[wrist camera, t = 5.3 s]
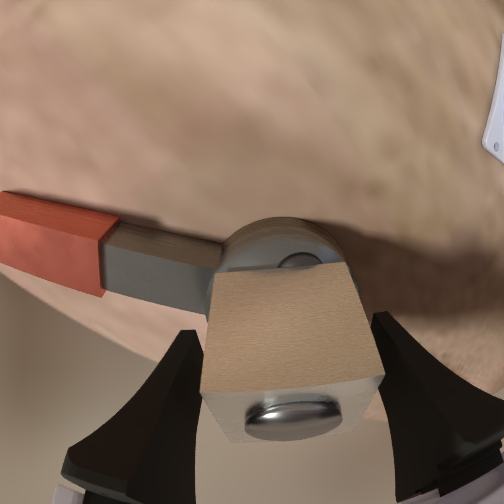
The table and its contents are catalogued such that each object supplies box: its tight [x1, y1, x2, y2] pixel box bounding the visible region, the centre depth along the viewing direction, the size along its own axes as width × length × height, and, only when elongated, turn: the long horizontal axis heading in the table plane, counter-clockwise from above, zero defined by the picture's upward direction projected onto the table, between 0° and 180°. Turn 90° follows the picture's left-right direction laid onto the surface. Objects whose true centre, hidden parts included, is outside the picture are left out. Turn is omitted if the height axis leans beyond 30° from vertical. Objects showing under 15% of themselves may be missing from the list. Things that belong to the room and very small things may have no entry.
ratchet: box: [0, 191, 359, 322], centre depth 12 cm, size 21×7×5 cm, turn 76°
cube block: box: [200, 262, 385, 443], centre depth 10 cm, size 5×5×5 cm
